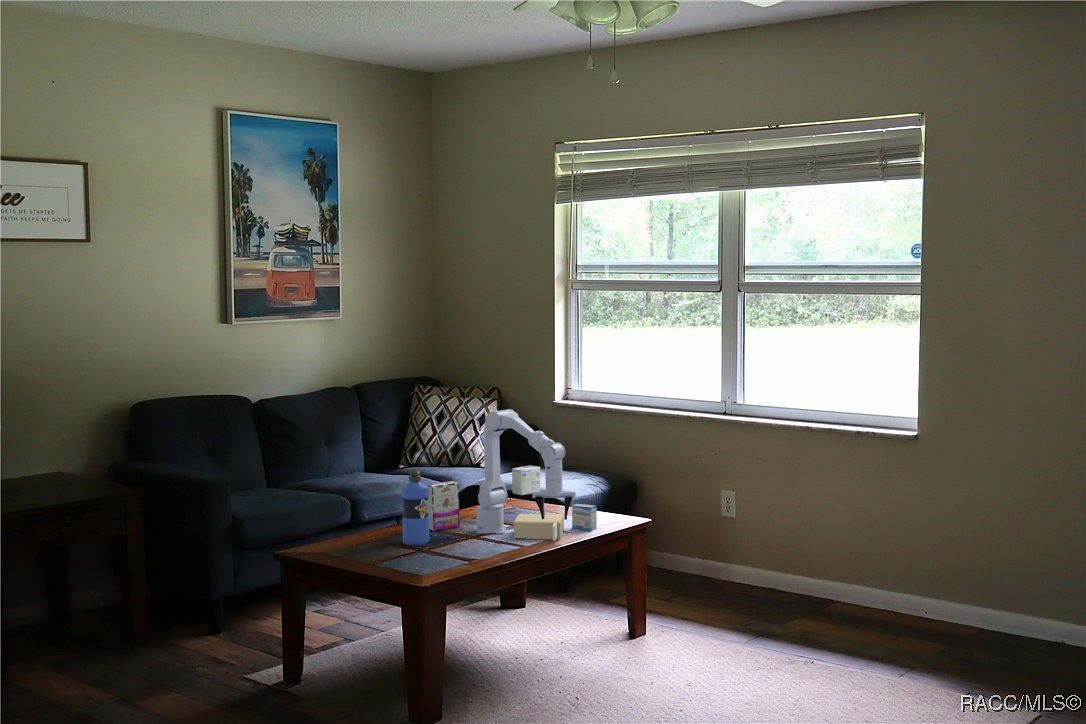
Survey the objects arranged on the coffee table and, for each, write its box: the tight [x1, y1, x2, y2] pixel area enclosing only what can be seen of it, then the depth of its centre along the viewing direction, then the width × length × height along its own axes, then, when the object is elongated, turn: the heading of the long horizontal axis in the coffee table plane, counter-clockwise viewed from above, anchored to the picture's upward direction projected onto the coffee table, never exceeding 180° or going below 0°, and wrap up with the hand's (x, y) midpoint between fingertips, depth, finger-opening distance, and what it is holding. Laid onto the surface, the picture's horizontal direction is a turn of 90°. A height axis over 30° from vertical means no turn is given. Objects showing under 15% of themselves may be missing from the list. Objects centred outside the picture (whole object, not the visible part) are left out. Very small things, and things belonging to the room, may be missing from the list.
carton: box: [513, 513, 565, 540], centre depth 374 cm, size 16×12×6 cm
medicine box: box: [571, 503, 598, 532], centre depth 382 cm, size 8×4×9 cm, turn 62°
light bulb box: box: [511, 465, 541, 496], centre depth 450 cm, size 11×7×11 cm, turn 130°
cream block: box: [513, 521, 561, 542], centre depth 364 cm, size 16×7×6 cm, turn 83°
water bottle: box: [400, 468, 430, 546], centre depth 365 cm, size 9×9×25 cm
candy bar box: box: [426, 480, 461, 532], centre depth 385 cm, size 11×5×16 cm, turn 126°
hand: (554, 519), depth 361 cm, fingers open, 7 cm apart
